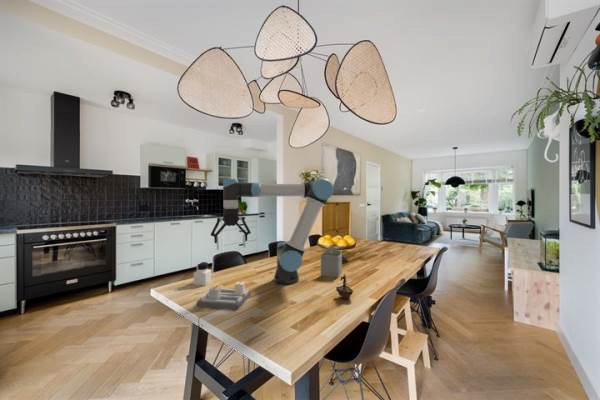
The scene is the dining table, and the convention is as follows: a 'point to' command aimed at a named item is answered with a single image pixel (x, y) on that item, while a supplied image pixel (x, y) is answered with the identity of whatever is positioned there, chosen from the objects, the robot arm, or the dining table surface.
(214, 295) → the fader
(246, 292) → the grey compartment tray
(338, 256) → the planter
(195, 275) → the medicine bottle
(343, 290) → the figurine
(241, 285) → the white taped box
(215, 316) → the dining table surface
